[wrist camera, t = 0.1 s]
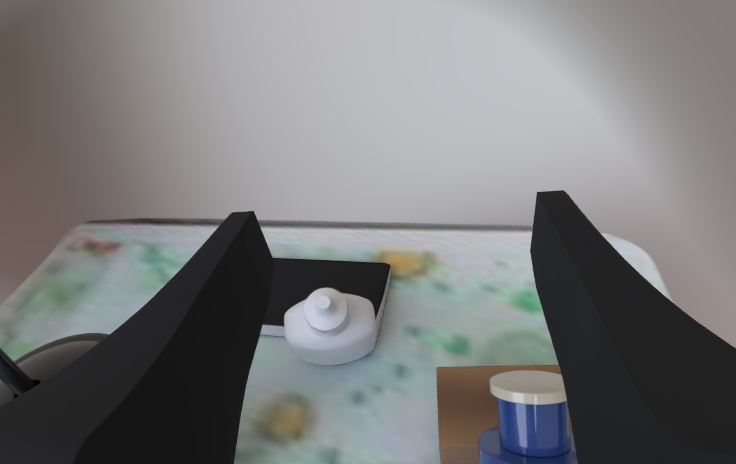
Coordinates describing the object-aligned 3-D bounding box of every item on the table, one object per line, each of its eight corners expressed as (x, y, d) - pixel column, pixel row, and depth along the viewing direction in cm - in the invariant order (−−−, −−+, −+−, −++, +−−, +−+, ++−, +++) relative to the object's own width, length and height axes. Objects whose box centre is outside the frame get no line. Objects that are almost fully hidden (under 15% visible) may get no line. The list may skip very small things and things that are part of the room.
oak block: (605, 482, 28) (618, 446, 25) (442, 479, 29) (439, 445, 26) (582, 401, 31) (591, 363, 29) (439, 402, 33) (436, 366, 30)
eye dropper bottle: (313, 301, 38) (291, 246, 27) (382, 327, 37) (389, 283, 26) (289, 355, 36) (255, 321, 25) (360, 384, 36) (358, 363, 24)
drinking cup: (263, 535, 28) (91, 289, 15) (135, 657, 24) (-225, 468, 12) (201, 445, 33) (31, 201, 20) (86, 536, 29) (-207, 310, 17)
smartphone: (373, 337, 36) (191, 322, 40) (375, 347, 37) (197, 331, 41) (391, 261, 42) (231, 254, 46) (392, 271, 43) (235, 264, 46)
